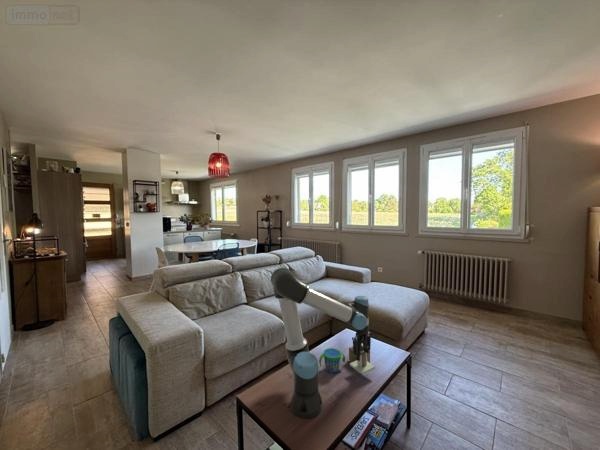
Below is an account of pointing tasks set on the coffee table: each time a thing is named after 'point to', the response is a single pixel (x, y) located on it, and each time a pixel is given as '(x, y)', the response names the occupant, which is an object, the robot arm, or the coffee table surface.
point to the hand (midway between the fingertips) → (362, 364)
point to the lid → (365, 367)
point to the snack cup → (332, 359)
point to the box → (353, 357)
